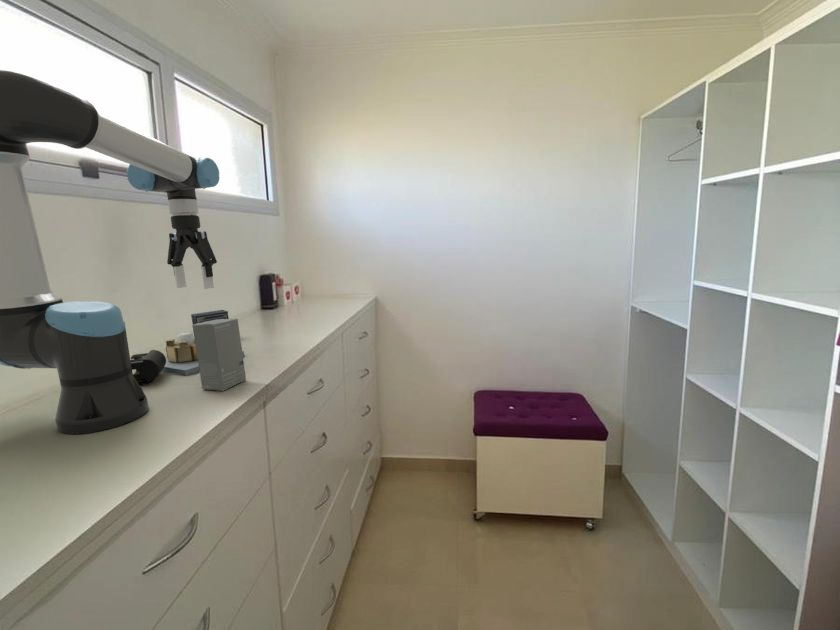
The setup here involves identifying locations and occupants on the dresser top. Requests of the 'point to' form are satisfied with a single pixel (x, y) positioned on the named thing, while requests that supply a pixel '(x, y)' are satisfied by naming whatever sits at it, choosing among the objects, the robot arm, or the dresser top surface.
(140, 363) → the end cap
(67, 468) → the dresser top surface
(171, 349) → the gold ring with handle
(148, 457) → the dresser top surface
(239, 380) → the grey rectangular box
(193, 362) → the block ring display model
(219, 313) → the small box
